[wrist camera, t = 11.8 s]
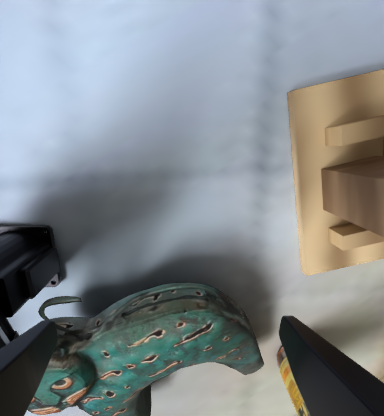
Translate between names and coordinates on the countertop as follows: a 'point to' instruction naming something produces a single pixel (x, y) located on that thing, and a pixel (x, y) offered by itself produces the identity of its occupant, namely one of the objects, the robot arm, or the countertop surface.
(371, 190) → the walnut board piece
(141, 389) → the teal curved piece
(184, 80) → the countertop surface
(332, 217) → the oak base board
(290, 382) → the sauce bottle
